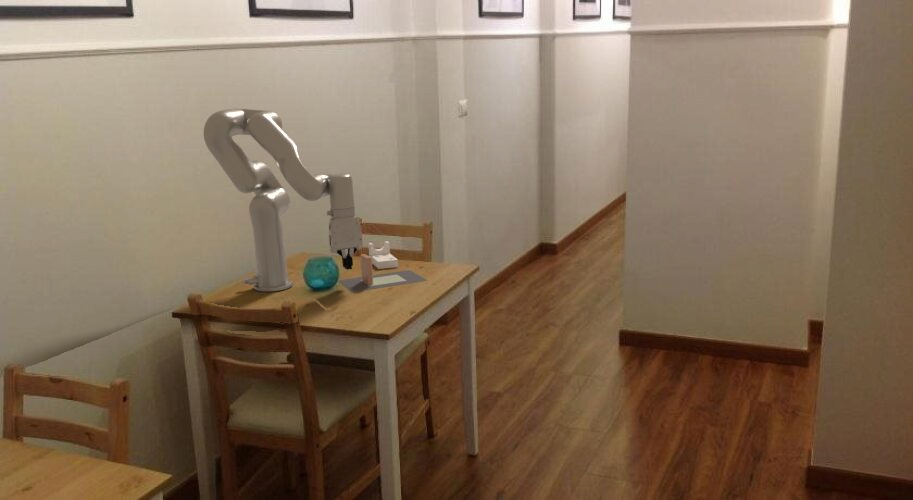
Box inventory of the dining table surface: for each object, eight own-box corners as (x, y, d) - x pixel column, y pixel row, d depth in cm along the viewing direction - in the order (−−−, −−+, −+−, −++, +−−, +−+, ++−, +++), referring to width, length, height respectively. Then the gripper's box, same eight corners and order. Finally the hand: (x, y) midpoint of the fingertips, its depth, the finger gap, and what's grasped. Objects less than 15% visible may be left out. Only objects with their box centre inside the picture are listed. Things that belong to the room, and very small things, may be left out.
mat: (352, 294, 262) (352, 292, 262) (337, 282, 276) (337, 280, 276) (427, 282, 272) (427, 280, 272) (409, 271, 286) (409, 269, 286)
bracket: (369, 263, 301) (368, 243, 299) (388, 261, 303) (387, 241, 301) (378, 271, 289) (377, 250, 287) (398, 269, 291) (397, 248, 289)
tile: (368, 285, 269) (366, 258, 267) (362, 280, 274) (360, 254, 272) (373, 284, 270) (371, 257, 268) (367, 280, 275) (365, 253, 273)
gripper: (323, 217, 257) (329, 274, 261) (369, 211, 263) (373, 267, 267) (317, 214, 264) (322, 269, 268) (361, 208, 270) (366, 262, 274)
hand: (348, 268), depth 268 cm, fingers closed
